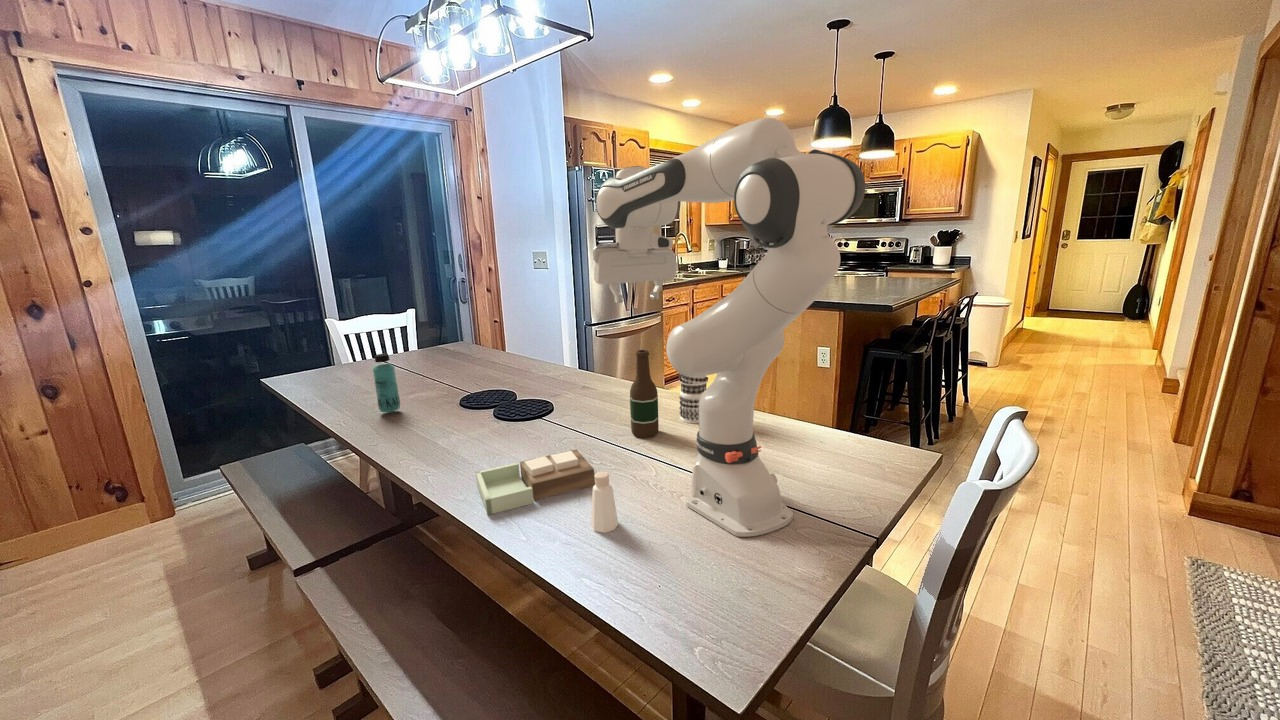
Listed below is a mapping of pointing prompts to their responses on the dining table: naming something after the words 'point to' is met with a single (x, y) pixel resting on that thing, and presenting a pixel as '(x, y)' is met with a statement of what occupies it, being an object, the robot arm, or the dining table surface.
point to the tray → (503, 488)
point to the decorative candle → (691, 396)
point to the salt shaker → (603, 505)
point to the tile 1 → (538, 466)
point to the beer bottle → (643, 400)
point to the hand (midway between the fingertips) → (636, 300)
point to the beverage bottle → (386, 385)
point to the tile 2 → (564, 460)
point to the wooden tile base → (559, 478)
